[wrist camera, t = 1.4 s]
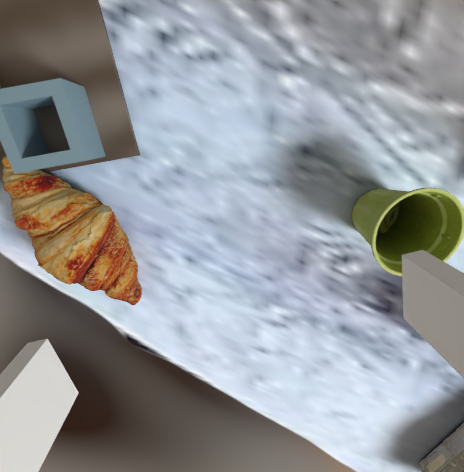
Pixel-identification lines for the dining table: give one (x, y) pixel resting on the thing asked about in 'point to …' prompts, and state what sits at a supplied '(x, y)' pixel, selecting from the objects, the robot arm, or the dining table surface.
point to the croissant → (73, 234)
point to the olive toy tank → (447, 454)
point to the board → (66, 69)
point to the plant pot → (409, 224)
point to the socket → (28, 131)
